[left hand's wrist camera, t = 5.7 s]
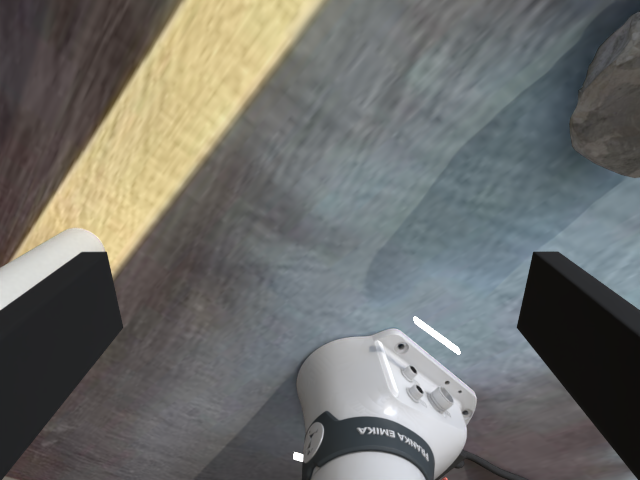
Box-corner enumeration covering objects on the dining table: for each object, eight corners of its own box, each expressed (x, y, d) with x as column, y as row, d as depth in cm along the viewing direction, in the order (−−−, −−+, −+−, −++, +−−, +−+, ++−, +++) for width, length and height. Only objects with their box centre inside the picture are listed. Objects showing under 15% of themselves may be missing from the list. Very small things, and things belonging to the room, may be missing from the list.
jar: (45, 242, 42) (-152, 358, 25) (82, 218, 41) (-95, 322, 24) (79, 280, 44) (-82, 414, 26) (116, 258, 43) (-26, 382, 25)
